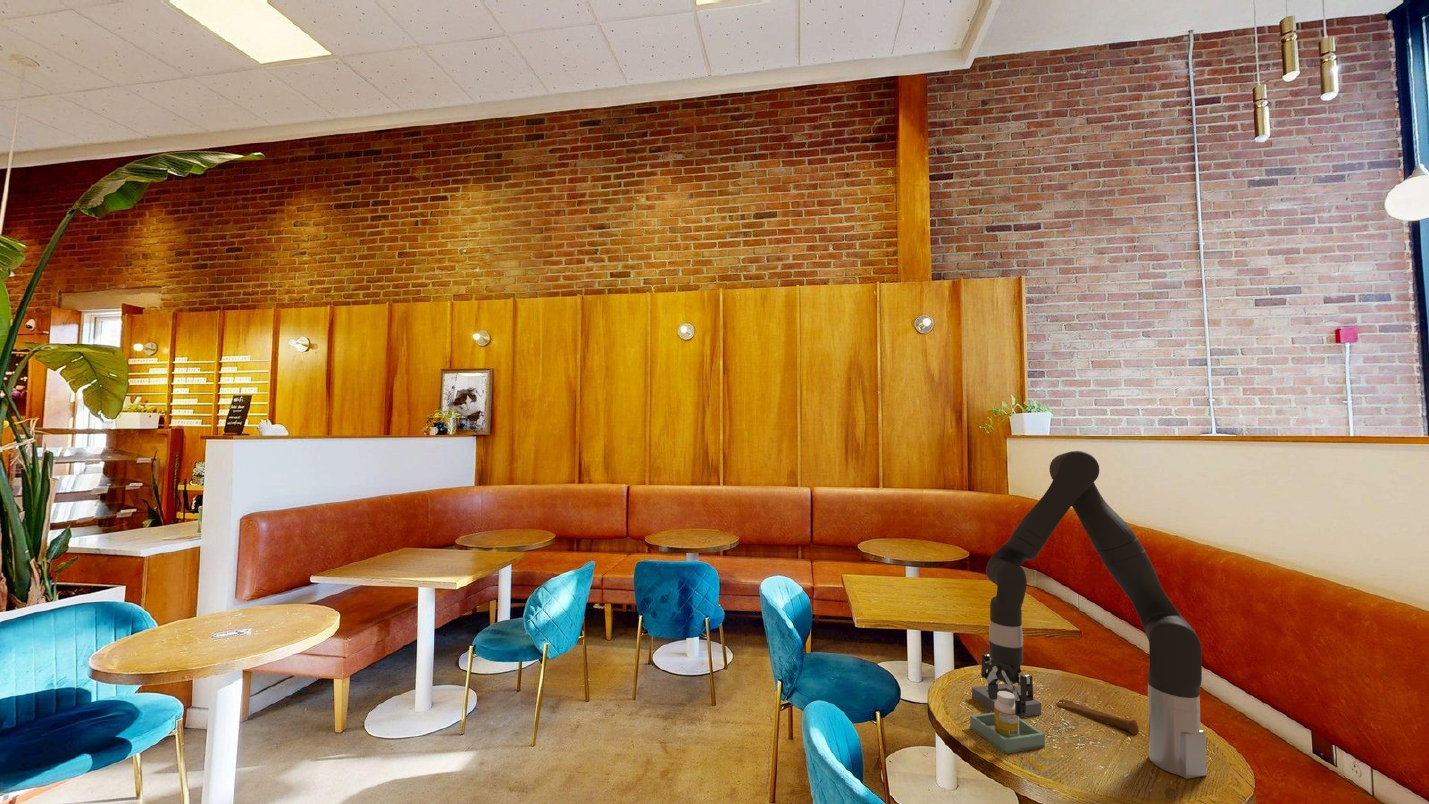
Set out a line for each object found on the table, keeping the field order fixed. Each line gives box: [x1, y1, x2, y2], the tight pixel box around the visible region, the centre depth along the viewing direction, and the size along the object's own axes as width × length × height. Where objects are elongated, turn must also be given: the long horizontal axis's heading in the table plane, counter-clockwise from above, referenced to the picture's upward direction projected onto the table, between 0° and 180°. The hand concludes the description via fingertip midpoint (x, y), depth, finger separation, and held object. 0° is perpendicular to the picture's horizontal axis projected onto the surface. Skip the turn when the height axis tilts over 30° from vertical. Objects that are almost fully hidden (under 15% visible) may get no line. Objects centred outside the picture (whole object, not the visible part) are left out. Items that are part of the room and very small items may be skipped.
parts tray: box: [969, 712, 1046, 754], centre depth 138 cm, size 12×12×3 cm
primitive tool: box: [1055, 698, 1140, 736], centre depth 149 cm, size 19×6×4 cm, turn 35°
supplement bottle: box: [994, 691, 1019, 738], centre depth 138 cm, size 5×5×10 cm
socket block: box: [971, 682, 1042, 719], centre depth 153 cm, size 12×12×3 cm
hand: (1006, 706), depth 138 cm, fingers open, 8 cm apart
